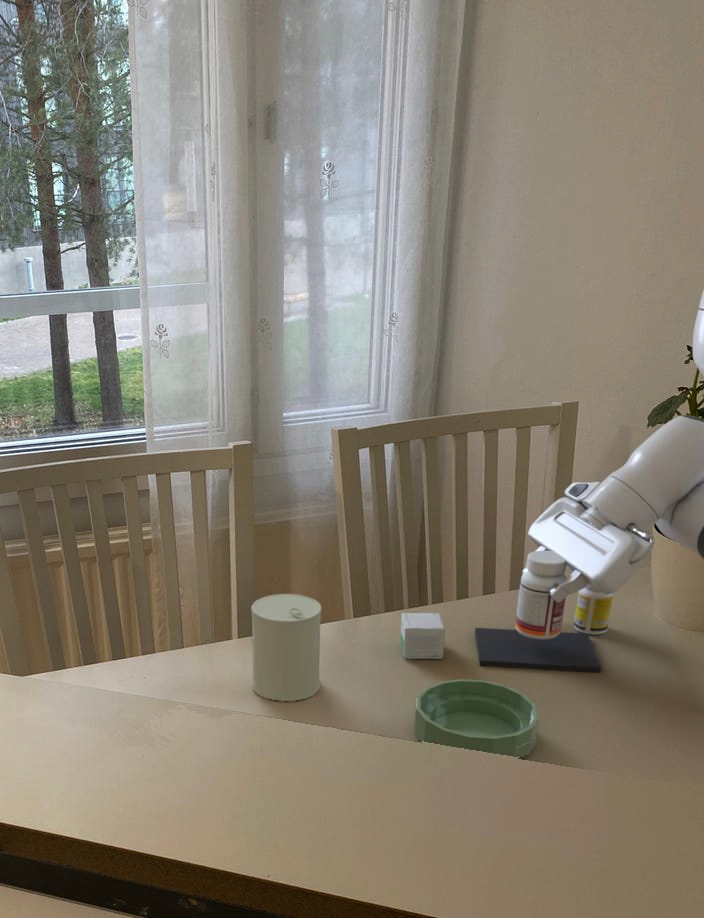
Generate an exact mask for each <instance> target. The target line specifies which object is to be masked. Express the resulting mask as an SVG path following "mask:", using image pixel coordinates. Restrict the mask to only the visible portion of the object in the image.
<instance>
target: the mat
mask: <svg viewBox="0 0 704 918" xmlns="http://www.w3.org/2000/svg"><path fill="white" fill-rule="evenodd" d="M474 637H475V643H476V649H477V656H478V664H479V666H482V667H484V666H485V667H499V668H500V667H501V668H514V669H515V668H517V669H519V668H520V669H532V670H533V669H535V670H550V671H566V672H567V671H568V672H584V673H602V669H603V668H602V665H601V662H600V660H599V658H598V655H597V653H596V651H595V648H594V645H593V644H592V643H593V642H592V641H591V639H590V635H589V634H585V633H581V632H566V631H565V632H564V631H560V633H559V635H558V636H556V637H554V638H552V639H533V638H528V637H525V636H523V635H521V634H520V633H519V632H518V631H517V630H516V629H508V628H488V627H487V628H486V627H475V628H474Z"/></svg>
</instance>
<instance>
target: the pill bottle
mask: <svg viewBox="0 0 704 918" xmlns="http://www.w3.org/2000/svg"><path fill="white" fill-rule="evenodd" d="M525 568H527V571H525V572H524V573H522V575H521V577H520V583H519V589H518V590H519V591H518V599H517V608H516V618H515V630H517V631H518V632H519V633H520V634H521V635H523V636H525V637H528V638H533V639H552V638H554V637H556V636H558V635H559V633H560V632H562V625H563V617H564V611H565V605H566V598H567V596H566V597H565V598H564V599H563V600H562V601H561V602H556V601H555V600H554V599H553V598H551V596H550V595H549V594H548V593H547V591H548V590H549V589H550V588H552V586H553V585H554V584H555V583H557V584H558V585H559V584H561V583H562V582H564V581H566V580H568V578H567V576H566V574H565V573H566V571H567V567H566V561H565V560H564V559H562V558H561V557H559V556H558V555H557V554H555V553H554V552H552V551H536V550H535V551H531V552H529V553H528V555H527V558H526V563H525Z"/></svg>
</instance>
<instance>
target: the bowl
mask: <svg viewBox="0 0 704 918" xmlns="http://www.w3.org/2000/svg"><path fill="white" fill-rule="evenodd" d="M539 722H540V713H539V711H538V706H537V704H536V703H534V702H533V701H532V699H530V697H528V695H526V694H524V693H522V692H521V691H518V690H516V689H514V688H512V687H510V686H508V685H505V684H501V683H496V682H493V681H488V680H483V679H482V680H481V679H466V678H465V679H464V678H460V679H452V680H444V681H440V682H437V683H434V684H432V685H429V686H426V687H425V688H424V689H423V690H422V691H421V692H420V693H419V694H418V695H417V696H416V699H415V713H414V736H415V737H416V738H417V739H418V741H419V740H420V741H424V742H428V743H434V744H440V745H445V746H451V747H457V748H464V749H469V750H476V751H482V752H487V753H493V754H500V755H507V756H513V757H522V758H525V757H526V756H528V755H530V754H531V752H532V750H533V749H534V747H535V745H536V743H537V738H538V730H539ZM420 741H419V742H420Z"/></svg>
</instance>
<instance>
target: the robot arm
mask: <svg viewBox="0 0 704 918" xmlns="http://www.w3.org/2000/svg"><path fill="white" fill-rule="evenodd" d="M696 314H697V315H696V318H695V322H694V326H693V327H694V328H693V333H692V359H693V362H694V364H695V366H696V368H697V369H698V371H699V373H700V374H701V375H702V376H703V377H704V289H702V293H701V297H700V302H699V304H698V310H697V313H696ZM564 494H565V496H562V497H560V498H558V499H557V500H555V501H554V502H553V503H552V504H551V505H550V506H549V507H547V508H546V510H544V511H543V512H542V513H540V515H539V516H538V517H537V519H535V520H534V521H533V523H532V524H531V525H530V527H529V530H528V532H527V536H528V537H529V538H530V539H531V540H532V542H533V543H534V544H535V545H536V546H537V547H538V548H537V549H535V551H552V552H554V553H555V554H557V555H558V556H559V557H561V558H562V559H564V560H565V561H566V568H568V569H569V570H570V571H572V572H571V573H570V574H569V578H567V580H566V581H564V582H562V583H561V584H559V585H558V584H557V583H555V584H554V585H553V586H552V588H550V589H549V590H548V591H547V593H548V594H549V595H550V596H551V598H553V599H554V600H555V601H556V602H561V601H562V600H563V599H564V598H565V597H566V598H567V596H569V595H572V594H574V593H578V592H579V590H582V589H584V588H585V587H586V586H587V585H588V584H589V583H590V584H592V585H593V586H594V587H596V588H597V589H599V590H600V591H601V592H603V593H604V594H606V595H608V594H611V593H613V594H614V593H616V592H618V591H619V590H620V589H621V588H622V587H624V585H625V584H626V583H627V582H628V581H629V580H630V579H631V578H632V576H633V575H634V574H635V573H636V572H637V571H638V569H640V567H641V566H642V564H643V563H644V562H645V560H646V558H647V555H649V553H651V551H652V550H653V548H654V544H655V541H654V539H655V537H654V535H653V534H652V533H650V532H649V530H650V529H651V528H652V527H653V526H654V525H655V527H656V528H657V529H658V530H659V531H660V533H661V534H663V536H665V537H666V538H667V539H670V540H671V541H673V542H675V543H677V544H678V545H680V546H682V547H683V548H685V549H686V550H689V551H690V552H692V553H694V554H696V555H698V556H699V557H701V558H702V559H703V560H704V419H703V418H701V417H698V416H694V415H690V414H683V415H682V414H681V415H678V416H676V417H674V418H672V419H670V420H668V421H667V422H666V423H665V424H663V425H662V426H661V427H659V428H658V429H657V430H656V431H655V432H653V433H652V434H651V435H650V436H649V437H648V438H647V439H645V440H644V441H643V442H642V443H641V444H640V445H639V446H638V447H636V449H635V450H634V451H632V453H631V454H630V456H629V458H628V460H627V461H626V462H625V464H623V465H622V466H621V467H620V468H618V469H616V470H615V471H613V472H611V473H610V474H609V475H608V476H606V478H604V479H603V481H593V482H582V481H581V482H580V481H579V482H577V481H575V482H573V483H571V484H570V485H569V486H568V487H566V489H565V490H564ZM525 571H527V568H526V567H524V568H523V569H522V571H521V574H523V573H524V572H525Z"/></svg>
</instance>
